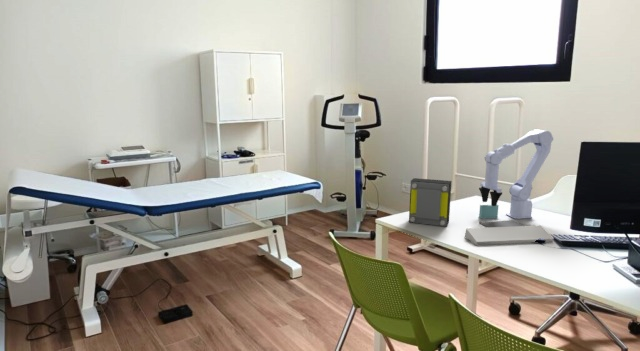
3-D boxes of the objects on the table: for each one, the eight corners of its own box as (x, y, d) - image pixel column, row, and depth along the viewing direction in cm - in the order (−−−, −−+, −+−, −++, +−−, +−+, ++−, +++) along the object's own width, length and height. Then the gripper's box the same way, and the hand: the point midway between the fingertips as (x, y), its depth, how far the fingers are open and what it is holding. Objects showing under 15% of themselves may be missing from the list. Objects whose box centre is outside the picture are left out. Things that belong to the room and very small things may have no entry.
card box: (495, 216, 228) (496, 204, 227) (497, 217, 226) (498, 205, 225) (478, 217, 226) (479, 205, 225) (481, 218, 224) (482, 206, 223)
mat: (512, 220, 220) (512, 220, 220) (532, 229, 207) (532, 228, 207) (479, 223, 216) (479, 222, 216) (496, 232, 203) (497, 231, 203)
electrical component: (407, 223, 215) (409, 181, 212) (412, 217, 225) (414, 177, 221) (446, 227, 209) (449, 185, 205) (449, 221, 218) (451, 180, 214)
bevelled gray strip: (550, 248, 193) (537, 234, 202) (553, 238, 191) (540, 225, 200) (474, 251, 188) (464, 237, 197) (476, 241, 186) (466, 228, 195)
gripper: (475, 174, 228) (473, 200, 231) (493, 179, 214) (490, 208, 217) (488, 173, 230) (486, 199, 233) (506, 179, 216) (503, 207, 219)
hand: (489, 203), depth 225 cm, fingers open, 7 cm apart
